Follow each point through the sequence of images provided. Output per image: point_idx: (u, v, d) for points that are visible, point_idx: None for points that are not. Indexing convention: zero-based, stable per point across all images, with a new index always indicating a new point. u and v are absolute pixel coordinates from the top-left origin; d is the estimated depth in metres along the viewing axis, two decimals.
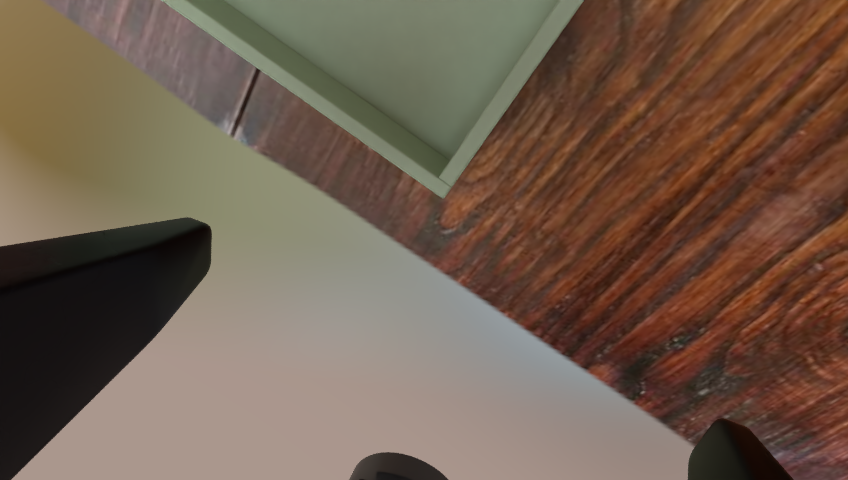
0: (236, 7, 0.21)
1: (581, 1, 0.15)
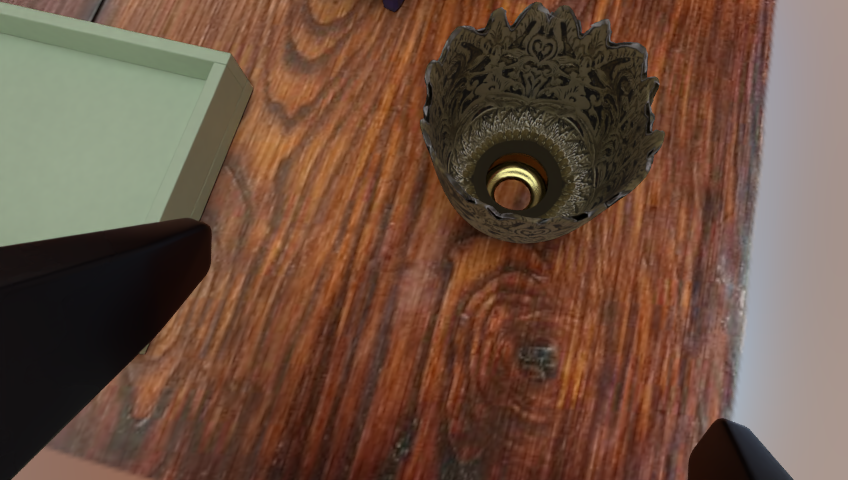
0: None
1: (182, 163, 0.22)
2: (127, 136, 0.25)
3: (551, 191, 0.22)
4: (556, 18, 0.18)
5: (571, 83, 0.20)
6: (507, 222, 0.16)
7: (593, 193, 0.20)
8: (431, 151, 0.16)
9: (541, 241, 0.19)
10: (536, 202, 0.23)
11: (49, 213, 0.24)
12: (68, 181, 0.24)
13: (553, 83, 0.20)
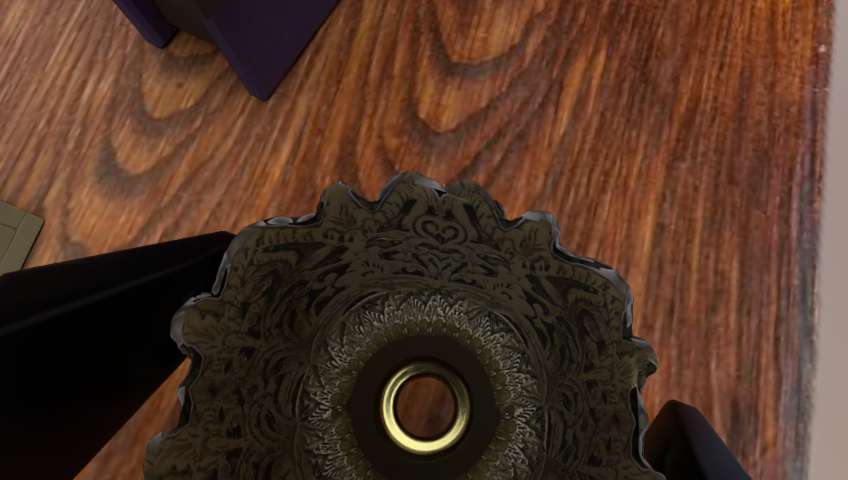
0: None
1: None
2: None
3: (480, 425, 0.13)
4: (452, 197, 0.09)
5: (502, 278, 0.11)
6: None
7: (542, 464, 0.12)
8: None
9: None
10: (462, 421, 0.15)
11: None
12: None
13: (472, 269, 0.12)
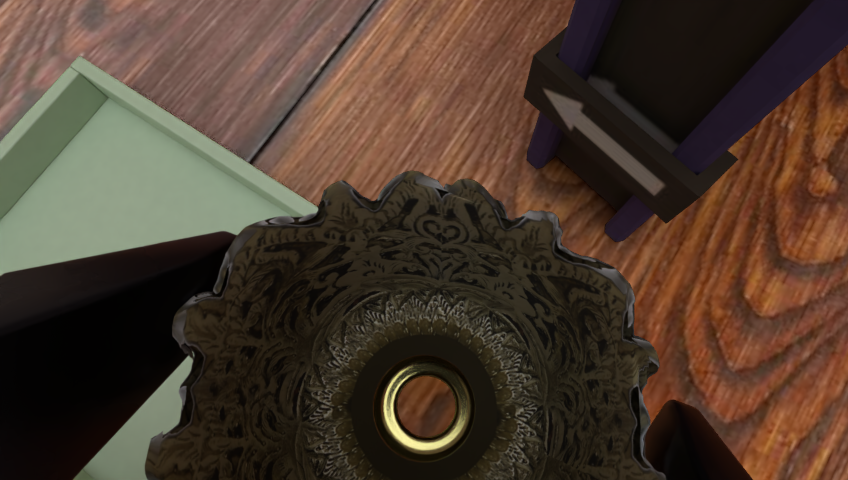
0: None
1: None
2: None
3: (480, 425, 0.13)
4: (454, 196, 0.09)
5: (503, 278, 0.11)
6: None
7: (543, 464, 0.12)
8: None
9: None
10: (463, 421, 0.15)
11: (164, 383, 0.20)
12: None
13: (473, 269, 0.12)
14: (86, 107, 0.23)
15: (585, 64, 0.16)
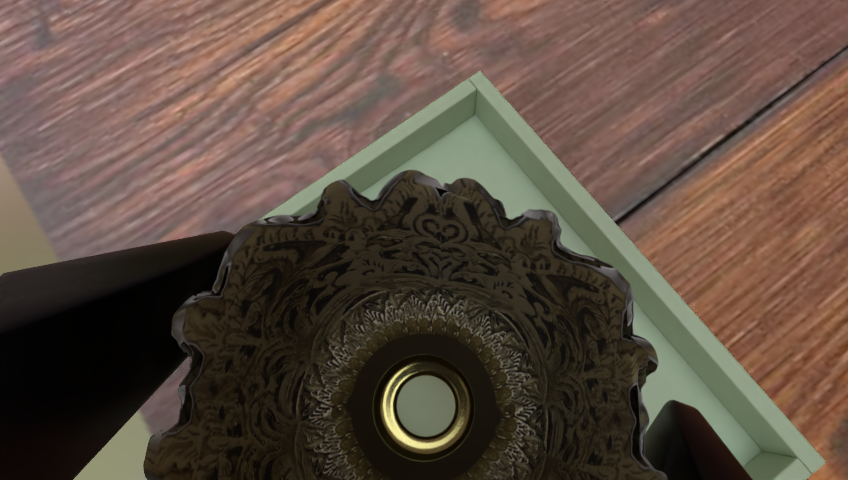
0: None
1: None
2: None
3: (480, 424, 0.13)
4: (453, 195, 0.09)
5: (502, 276, 0.11)
6: None
7: (543, 463, 0.12)
8: None
9: None
10: (462, 420, 0.15)
11: None
12: None
13: (473, 268, 0.12)
14: (456, 120, 0.21)
15: None
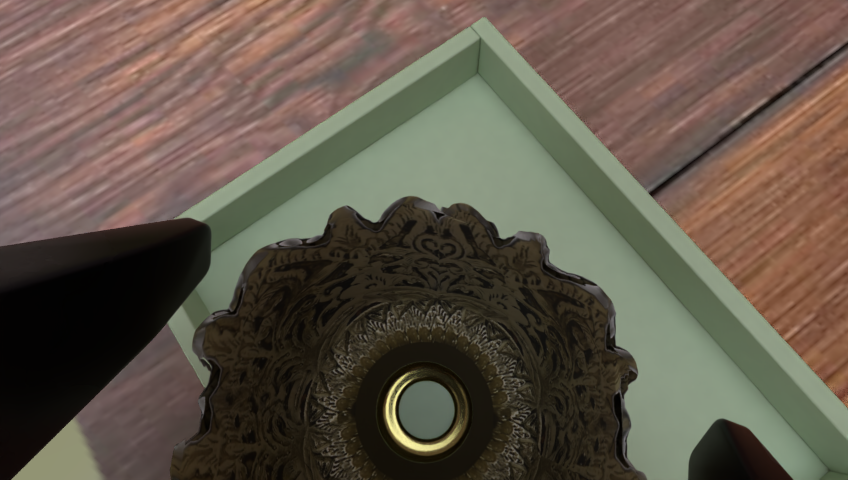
0: None
1: None
2: (636, 432, 0.15)
3: (478, 427, 0.14)
4: (450, 218, 0.10)
5: (497, 290, 0.12)
6: None
7: (537, 464, 0.12)
8: None
9: None
10: (461, 423, 0.15)
11: None
12: None
13: (469, 281, 0.12)
14: (456, 78, 0.18)
15: None
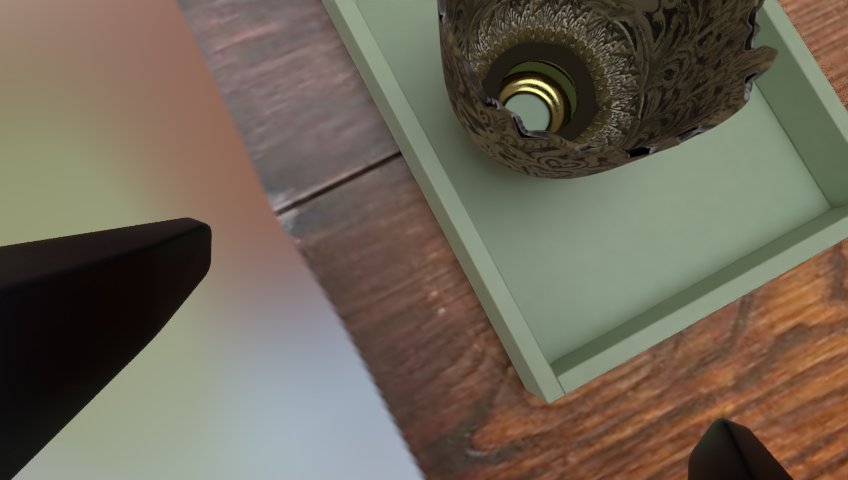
0: None
1: (766, 281, 0.16)
2: (691, 159, 0.19)
3: (579, 117, 0.17)
4: None
5: None
6: (534, 144, 0.11)
7: (636, 127, 0.16)
8: (444, 22, 0.11)
9: (562, 178, 0.15)
10: (554, 129, 0.19)
11: None
12: None
13: None
14: None
15: None
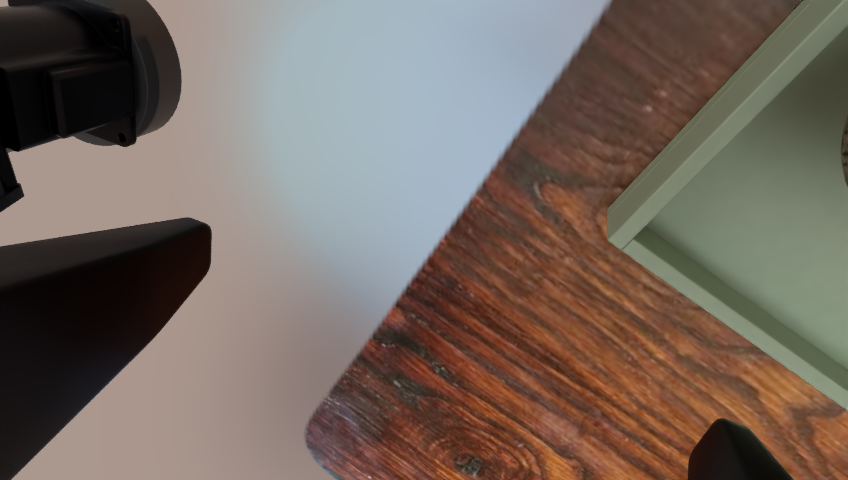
0: None
1: (791, 370, 0.18)
2: None
3: None
4: None
5: None
6: None
7: None
8: None
9: None
10: None
11: None
12: None
13: None
14: None
15: None
